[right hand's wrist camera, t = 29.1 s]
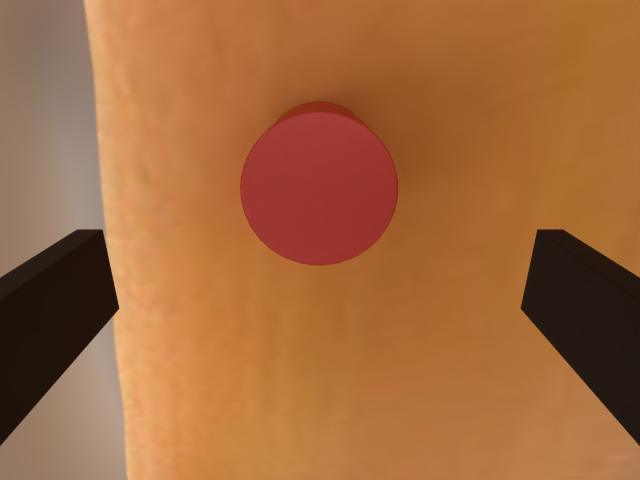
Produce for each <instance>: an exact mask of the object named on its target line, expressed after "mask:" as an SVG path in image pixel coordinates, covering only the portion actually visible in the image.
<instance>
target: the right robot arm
mask: <svg viewBox="0 0 640 480" xmlns="http://www.w3.org/2000/svg"><path fill="white" fill-rule="evenodd" d="M118 310H119V305H118V300H117V295H116V291H115V286H114V281H113V277H112V272H111V267H110V262H109V258H108V253H107V248H106V244H105V239H104V234H103V230H76V231H74V232H72V233H71V234H69V235H68V236H66V237H64V238H63V239H61V240H60V241H58V242H57V243H55V244H53V245H52V246H50V247H48V248H47V249H45V250H44V251H42V252H41V253H39V254H37V255H36V256H34V257H33V258H31V259H29V260H28V261H26V262H25V263H23V264H21V265H20V266H18V267H17V268H15V269H13V270H12V271H10V272H9V273H7V274H5V275H4V276H2V277H1V278H0V446H1V444H2V443H3V442H4V441H5V440H6V439H7V438H8V436H9V435H10V434H11V433H12V432H13V431H14V429H15V428H16V427H17V426H18V425H19V424H20V423H21V421H22V420H23V419H24V418H25V417H26V416H27V415H28V413H29V412H30V411H31V410H32V409H33V408H34V406H35V405H36V404H37V403H38V402H39V401H40V400H41V398H42V397H43V396H44V395H45V394H46V393H47V391H48V390H49V389H50V388H51V387H52V386H53V384H54V383H55V382H56V381H57V380H58V379H59V378H60V376H61V375H62V374H63V373H64V372H65V371H66V370H67V368H68V367H69V366H70V365H71V364H72V363H73V361H74V360H75V359H76V358H77V357H78V356H79V355H80V353H81V352H82V351H83V350H84V349H85V347H86V346H87V345H88V344H89V343H90V342H91V341H92V339H93V338H94V337H95V336H96V335H97V334H98V333H99V331H100V330H101V329H102V328H103V327H104V326H105V325H106V323H107V322H108V321H109V320H110V319H111V318H112V316H113V315H114V314H115V313H116V312H117V311H118ZM521 310H522V311H523V312H524V313H525V314H526V315H527V316H528V318H529V319H530V320H531V321H532V322H533V323H534V325H535V326H536V327H537V328H538V329H539V330H540V331H541V333H542V334H543V335H544V336H545V337H546V338H547V340H548V341H549V342H550V343H551V344H552V345H553V346H554V348H555V349H556V350H557V351H558V352H559V353H560V355H561V356H562V357H563V358H564V359H565V360H566V361H567V363H568V364H569V365H570V366H571V367H572V368H573V370H574V371H575V372H576V373H577V374H578V375H579V376H580V378H581V379H582V380H583V381H584V382H585V383H586V385H587V386H588V387H589V388H590V389H591V390H592V391H593V393H594V394H595V395H596V396H597V397H598V398H599V400H600V401H601V402H602V403H603V404H604V405H605V406H606V408H607V409H608V410H609V411H610V412H611V413H612V415H613V416H614V417H615V418H616V419H617V420H618V421H619V423H620V424H621V425H622V426H623V427H624V428H625V430H626V431H627V432H628V433H629V434H630V435H631V436H632V438H633V439H634V440H635V441H636V442H637V443H638V444H639V446H640V278H639V277H638V276H636V275H635V274H633V273H631V272H630V271H628V270H627V269H625V268H623V267H622V266H620V265H619V264H617V263H615V262H614V261H612V260H611V259H609V258H607V257H606V256H604V255H603V254H601V253H599V252H598V251H596V250H595V249H593V248H592V247H590V246H588V245H587V244H585V243H584V242H582V241H580V240H579V239H577V238H576V237H574V236H572V235H571V234H569V233H568V232H566V231H564V230H537V234H536V239H535V244H534V248H533V253H532V258H531V262H530V267H529V272H528V277H527V281H526V286H525V291H524V295H523V300H522V305H521Z"/></svg>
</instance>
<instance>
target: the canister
mask: <svg viewBox="0 0 640 480" xmlns="http://www.w3.org/2000/svg"><path fill="white" fill-rule="evenodd" d="M240 190H241V201H242V206H243V209H244V213H245V216H246V218H247V220H248V222H249V224H250V226H251V228H252V229H253V231H254V232H255V234H256V235H257V236H258V237H259V238H260V240H261V241H262V242H263V243H264V244H265V245H267V246H268V247H269V248H270V249H272V250H273V251H274V252H276V253H277V254H279V255H281V256H283V257H285V258H287V259H289V260H292V261H295V262H299V263H302V264H309V265H330V264H336V263H340V262H343V261H346V260H349V259H352V258H354V257H356V256H358V255H359V254H361V253H363V252H364V251H366V250H367V249H368V248H369V247H371V246H372V245H373V244H374V243H375V242H376V241H377V240H378V239H379V238H380V237H381V235H382V234H383V233H384V231H385V230H386V228H387V227H388V225H389V223H390V221H391V219H392V216H393V214H394V211H395V207H396V203H397V196H398V180H397V174H396V169H395V166H394V163H393V160H392V158H391V156H390V154H389V152H388V150H387V149H386V147H385V146H384V144H383V143H382V141H381V140H380V139H379V138H378V137H377V136H376V135H375V134H374V133H373V132H372V131H371V130H370V129H369V128H368V127H367V126H366V125H365V124H364V123H363V122H362V121H361V120H359V119H358V118H357V117H356V116H355V115H354V114H353V113H351V112H350V111H348V110H347V109H345V108H343V107H341V106H338V105H335V104H332V103H326V102H313V103H307V104H303V105H300V106H298V107H295V108H293V109H292V110H290V111H288V112H287V113H286V114H284V115H283V116H282V117H281V118H280V119H279V120H278V121H277V122H276V123H275V124H274V125H272V126H271V127H270V128H269V129H268V130H267V131H266V132H265V133H264V134H263V135H262V136H261V137H260V138H259V139H258V141H257V142H256V143H255V145H254V146H253V147H252V149H251V151H250V153H249V155H248V157H247V159H246V162H245V164H244V167H243V171H242V176H241V185H240Z"/></svg>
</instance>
